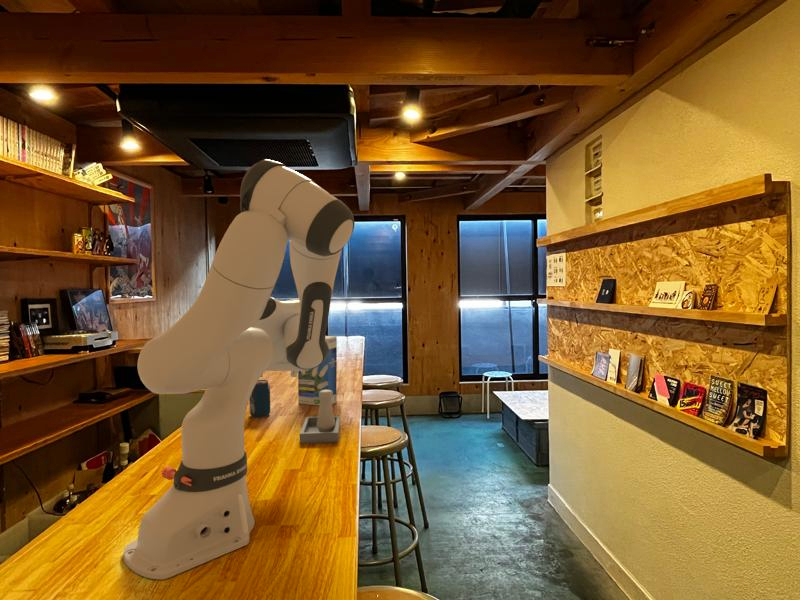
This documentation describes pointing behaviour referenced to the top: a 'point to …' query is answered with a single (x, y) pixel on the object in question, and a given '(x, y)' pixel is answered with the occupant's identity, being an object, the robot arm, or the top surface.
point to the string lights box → (319, 377)
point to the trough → (313, 435)
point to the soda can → (260, 399)
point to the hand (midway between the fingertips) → (277, 375)
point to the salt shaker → (326, 412)
